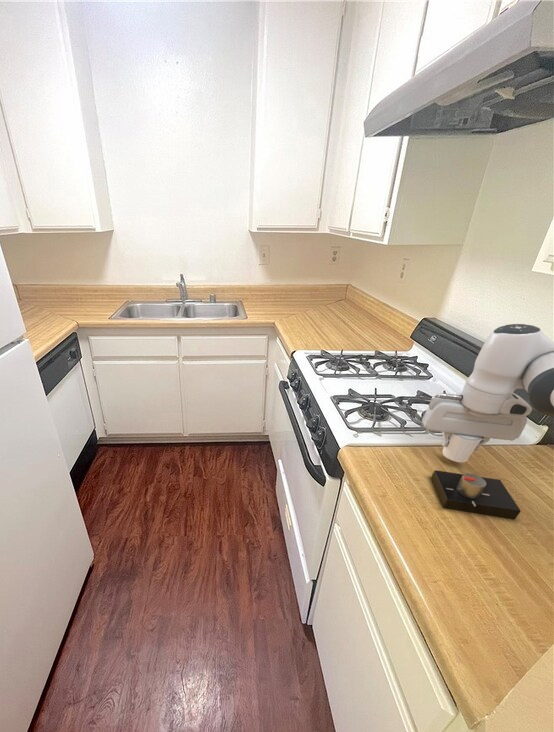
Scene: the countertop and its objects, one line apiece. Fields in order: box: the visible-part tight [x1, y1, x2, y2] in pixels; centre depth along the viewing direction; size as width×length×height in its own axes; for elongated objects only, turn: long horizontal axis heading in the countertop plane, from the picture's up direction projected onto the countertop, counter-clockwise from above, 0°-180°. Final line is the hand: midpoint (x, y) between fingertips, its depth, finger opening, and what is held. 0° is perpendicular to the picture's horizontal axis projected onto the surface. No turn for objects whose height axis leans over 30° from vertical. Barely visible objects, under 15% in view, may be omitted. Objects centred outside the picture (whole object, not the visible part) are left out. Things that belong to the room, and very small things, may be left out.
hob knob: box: [456, 472, 486, 499], centre depth 74 cm, size 4×4×4 cm
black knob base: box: [430, 469, 522, 521], centre depth 76 cm, size 14×11×3 cm
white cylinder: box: [442, 433, 482, 463], centre depth 85 cm, size 7×7×7 cm
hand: (459, 447), depth 85 cm, fingers closed on white cylinder, 5 cm apart
